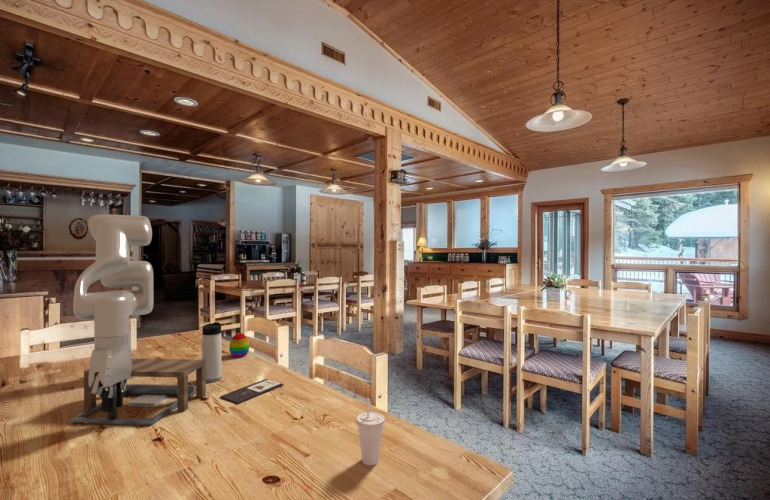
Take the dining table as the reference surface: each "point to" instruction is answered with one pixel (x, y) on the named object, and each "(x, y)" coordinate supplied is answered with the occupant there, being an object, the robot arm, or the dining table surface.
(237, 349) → the decorative egg
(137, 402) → the pale grey flat block
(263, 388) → the chocolate bar
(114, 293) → the robot arm
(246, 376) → the dining table surface
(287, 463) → the dining table surface
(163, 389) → the grey metal frame
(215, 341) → the travel mug
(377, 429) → the smoothie
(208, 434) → the dining table surface
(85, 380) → the small wooden bench
